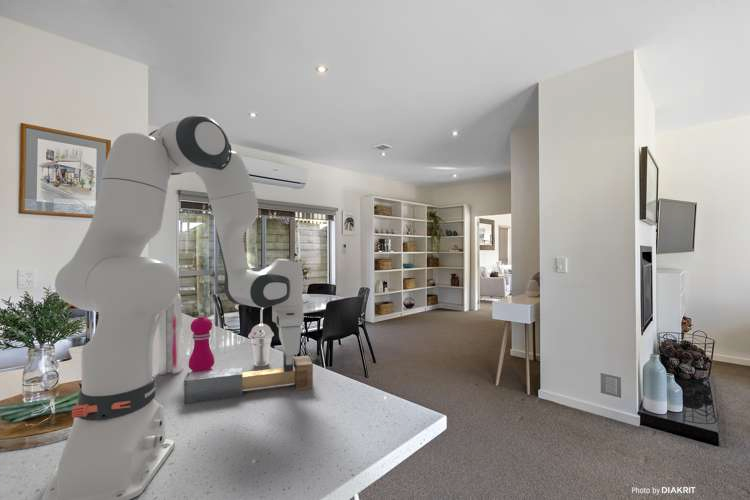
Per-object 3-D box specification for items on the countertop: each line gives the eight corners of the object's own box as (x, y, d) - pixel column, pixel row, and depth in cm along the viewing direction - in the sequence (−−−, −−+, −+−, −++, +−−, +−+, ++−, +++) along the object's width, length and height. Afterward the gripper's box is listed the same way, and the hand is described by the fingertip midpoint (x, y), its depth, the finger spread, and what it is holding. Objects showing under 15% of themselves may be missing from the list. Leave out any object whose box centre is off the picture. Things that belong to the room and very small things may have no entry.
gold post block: (304, 381, 102) (304, 349, 102) (230, 391, 96) (230, 356, 95) (302, 377, 106) (302, 345, 106) (231, 386, 99) (230, 352, 99)
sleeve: (242, 396, 96) (242, 374, 95) (184, 404, 91) (184, 380, 91) (242, 387, 101) (242, 366, 101) (187, 394, 96) (187, 372, 96)
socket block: (312, 388, 101) (312, 363, 101) (296, 390, 100) (296, 365, 99) (308, 377, 109) (308, 355, 108) (293, 379, 107) (293, 357, 107)
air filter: (186, 368, 116) (185, 293, 116) (173, 375, 110) (172, 296, 109) (168, 367, 117) (167, 292, 117) (153, 375, 111) (153, 295, 110)
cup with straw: (242, 366, 119) (242, 307, 119) (262, 358, 127) (261, 303, 127) (261, 370, 115) (261, 309, 115) (280, 361, 123) (280, 304, 123)
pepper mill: (204, 382, 105) (203, 315, 105) (183, 380, 107) (182, 314, 106) (219, 373, 112) (219, 310, 112) (199, 371, 114) (199, 310, 113)
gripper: (274, 308, 111) (274, 352, 111) (279, 322, 92) (279, 375, 92) (294, 307, 113) (294, 350, 113) (304, 320, 94) (304, 372, 94)
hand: (288, 361), depth 102 cm, fingers closed on gold post block, 3 cm apart
